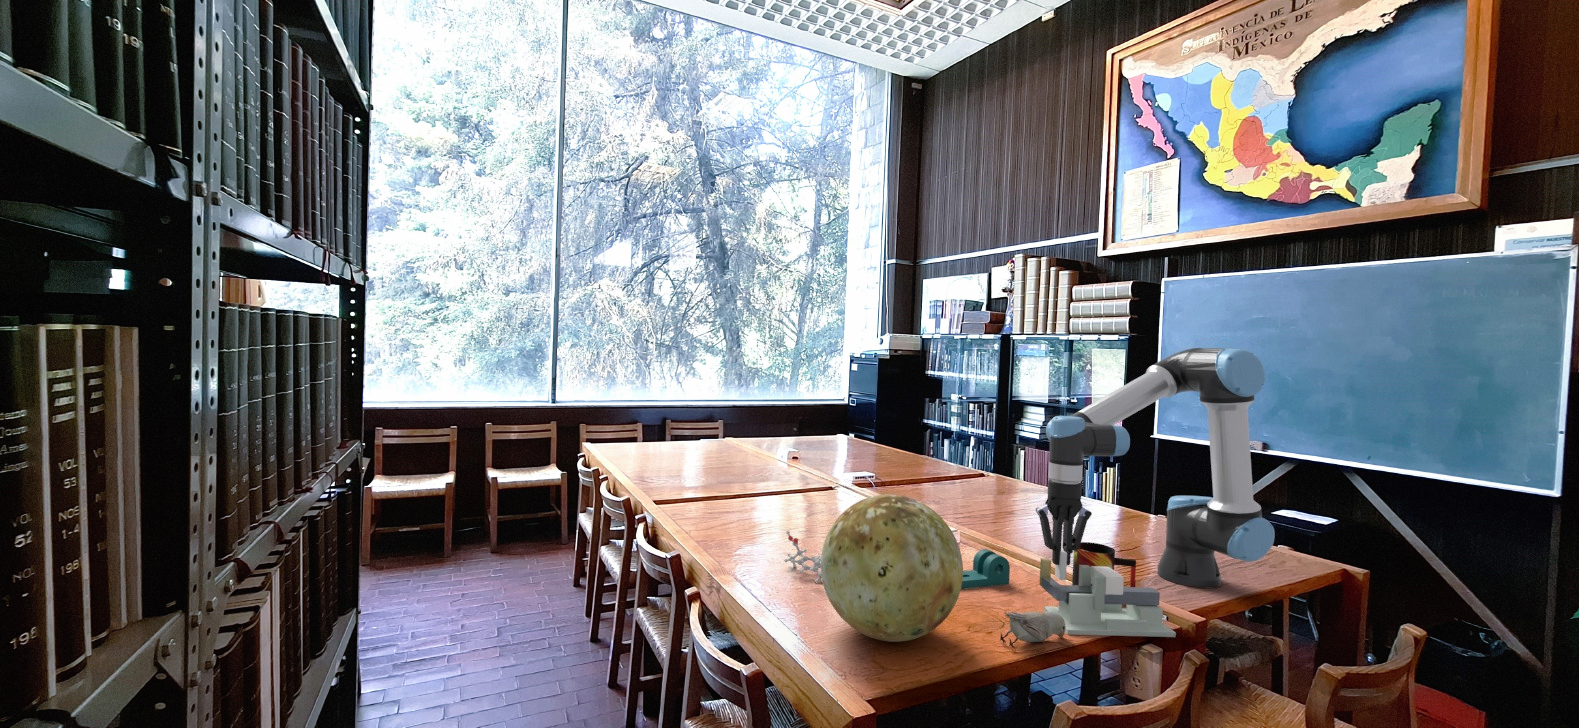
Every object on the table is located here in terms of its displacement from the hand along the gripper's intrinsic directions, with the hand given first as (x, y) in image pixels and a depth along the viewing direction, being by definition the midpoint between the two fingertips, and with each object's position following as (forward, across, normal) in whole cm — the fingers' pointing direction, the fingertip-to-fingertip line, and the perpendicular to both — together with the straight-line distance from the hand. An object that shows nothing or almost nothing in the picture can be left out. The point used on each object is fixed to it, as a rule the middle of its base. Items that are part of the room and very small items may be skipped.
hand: (1060, 577), depth 159 cm
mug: (+8, -15, -11) cm, 21 cm away
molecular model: (+8, +59, -19) cm, 63 cm away
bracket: (+8, +16, -16) cm, 24 cm away
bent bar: (+3, -7, +4) cm, 9 cm away
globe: (+8, +44, +17) cm, 48 cm away
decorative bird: (+8, +13, +19) cm, 24 cm away
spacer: (0, -7, +8) cm, 11 cm away
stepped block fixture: (+8, -8, +8) cm, 13 cm away
